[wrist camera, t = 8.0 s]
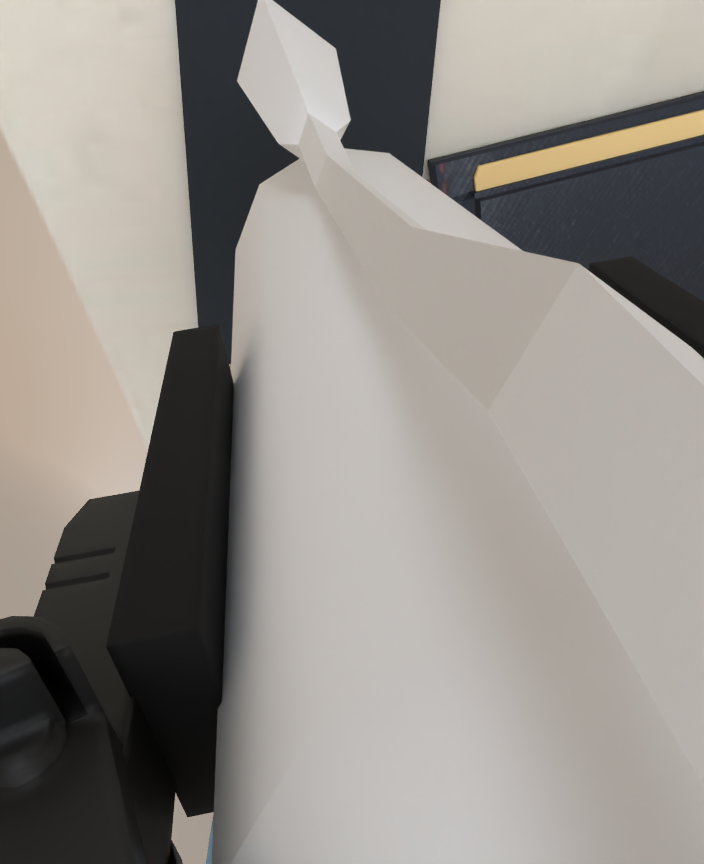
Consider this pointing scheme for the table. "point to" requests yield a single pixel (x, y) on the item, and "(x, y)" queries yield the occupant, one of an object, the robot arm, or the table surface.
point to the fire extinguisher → (447, 527)
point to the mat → (250, 137)
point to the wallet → (596, 189)
